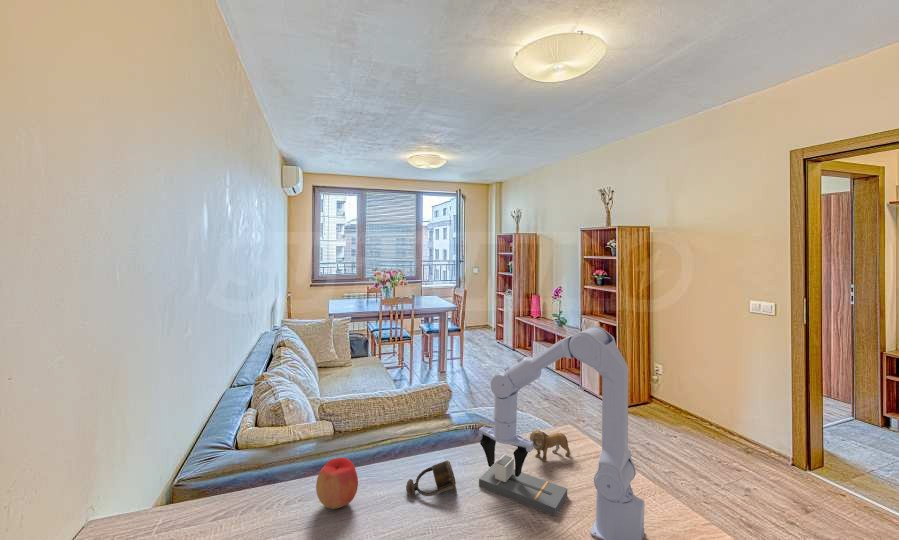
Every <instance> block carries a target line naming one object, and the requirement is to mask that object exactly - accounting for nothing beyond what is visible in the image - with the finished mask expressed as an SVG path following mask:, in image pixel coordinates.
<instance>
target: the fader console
mask: <svg viewBox="0 0 899 540" xmlns="http://www.w3.org/2000/svg"><path fill="white" fill-rule="evenodd" d="M478 487H480V488H483V489H485V490H487V491H490V492H492V493H494V494H498V495H500V496H502V497H505V498H508V499H510V500H513V501H514V502H517V503H519V504H522V505H525V506H527V507H528V508H529V507H530V508H532V509H536V510H537V511H540V512H543V513H545V514H547V515H550V516H552V517H554V518H555V517H556V516H557V514H558V513H559V511H560V509H562V506H563V504H564V502H565V501H566V499H567V498H568V488H567V487H566V486H562V485H559V484H556V483H553V482H550V481H548V480H545V479H542V478H540V477H536V476H535V475H534V476H533V475H530V474H528V473H525V472H522V471H521V474H520V475H519V476H518V477H516V476H515V469H514V473H513V475H512V476H511V477H510V478H509V479H508V480H507V481H506V482H503V481H500V480H498V479H495V463H494V464H493V465H492V466H491V467H488V470H486V471H485V472H484V473H483V474H482V475H481V476H480V477H479V478H478Z"/></svg>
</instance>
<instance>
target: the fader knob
mask: <svg viewBox="0 0 899 540" xmlns="http://www.w3.org/2000/svg"><path fill="white" fill-rule="evenodd" d="M494 464H495V479H498V480H500V481H503V482H506V481H507V480H508V479H509V478H510V477H511V476H512V475H513V473H514V470H515V458H514V457H512V456H509V455H506V454H502V456H501V457H500V458H499V459H498V460H497V461H496V462H494Z"/></svg>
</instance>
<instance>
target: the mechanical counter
mask: <svg viewBox="0 0 899 540" xmlns="http://www.w3.org/2000/svg"><path fill="white" fill-rule="evenodd" d="M429 472H432V473H433V477H434V483H435V485H436V490H435V489H434V490H433V491H428V492H427V491H422V490H421V489H420V488H419V481H420V479H421V478H422V476H424V475H425V474H427V473H429ZM455 478H456V477H455V473H454V470H453V468H452V465H451V462H450V461H449V460H447V459H446V460H445V461H442V462H438V463H437V464H434V465H433V464H432V466H430V467H427V468H425V469H423V470H422V471H421V472H420V473H419V474H418V475H417V478H416V479H415V482H414V480H413V479H411V478H410V479H408V481H407V482H406V485H405V490H406V494H407V495H408V496H409V497H410V498H416V491H417V492H418V494H420V495H422V496H425V497H431V496H436V495H438V494H441V493H444V492H446V491H449V490H451V489H453V492H454V494H457V493H458V490H457V486H456V484H457V483H456V479H455Z"/></svg>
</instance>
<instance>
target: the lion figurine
mask: <svg viewBox="0 0 899 540" xmlns="http://www.w3.org/2000/svg"><path fill="white" fill-rule="evenodd" d="M529 435H530V436H529V441H532V442H533V449H534V450H536V454H535V457H536V458H540V457H541V451H542V459H541V461H542V462H547V460H548V459H547V458H548V457H547V452H548V449H552V448H553V447H555V449H553V450H552V453H553V454H557V452H558V451H559V450H560V449H561V448H562V449H563V450H564V451H566V452H565V457H567V456H568V457H570V456H571V454H570V453H571V451H570V447H569V441H568V438H567V436H566V435H565V434H564V433H562V432H554V433H552V434H547V433H545V432H543V431H540V430H538V429H536V430H535V429H534V430H533V431H531V433H530V434H529ZM560 447H561V448H560Z"/></svg>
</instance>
